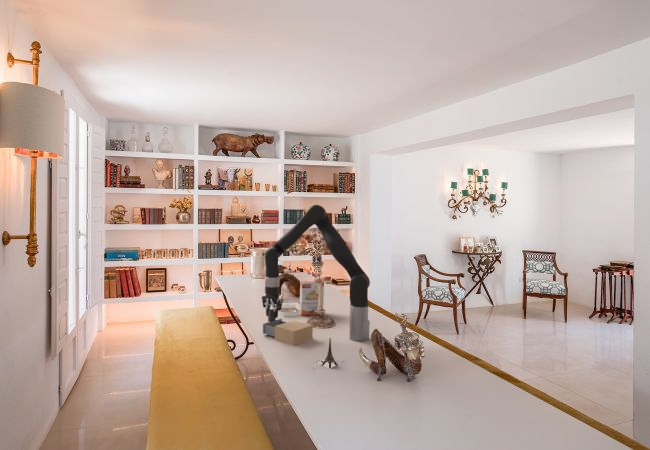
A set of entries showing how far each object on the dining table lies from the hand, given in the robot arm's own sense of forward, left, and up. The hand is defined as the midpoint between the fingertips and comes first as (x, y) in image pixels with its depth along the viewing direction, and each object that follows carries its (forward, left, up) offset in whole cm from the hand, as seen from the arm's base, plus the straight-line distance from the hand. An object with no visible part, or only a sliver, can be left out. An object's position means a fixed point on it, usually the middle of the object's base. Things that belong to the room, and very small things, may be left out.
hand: (271, 316), depth 225 cm
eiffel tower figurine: (-51, +14, -9) cm, 53 cm away
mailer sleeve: (-16, 0, -8) cm, 18 cm away
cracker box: (+8, -42, -9) cm, 43 cm away
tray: (-6, 0, -8) cm, 10 cm away
